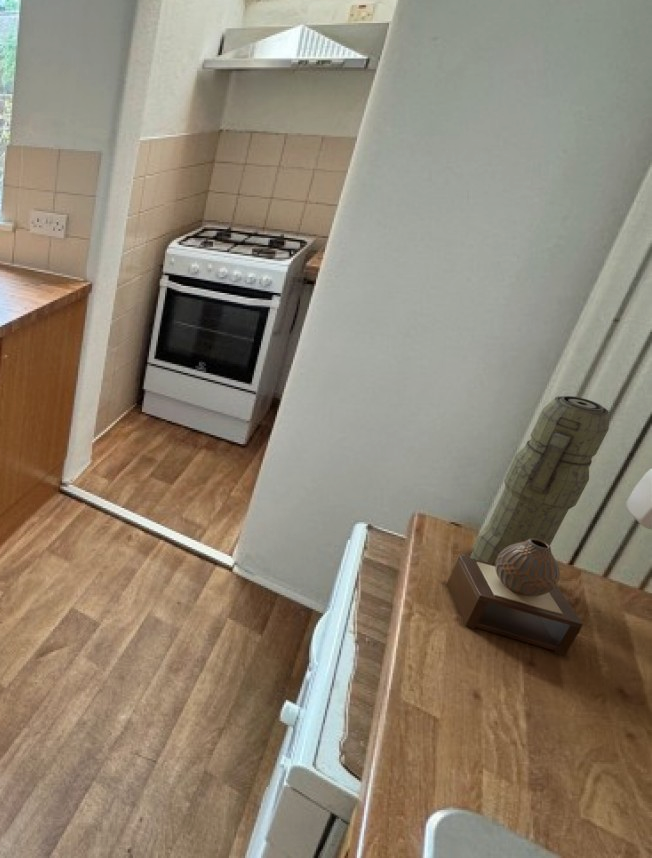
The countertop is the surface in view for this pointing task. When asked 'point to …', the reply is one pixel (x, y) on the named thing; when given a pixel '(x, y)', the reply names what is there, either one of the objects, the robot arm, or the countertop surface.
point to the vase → (528, 568)
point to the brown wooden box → (511, 608)
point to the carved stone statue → (545, 476)
